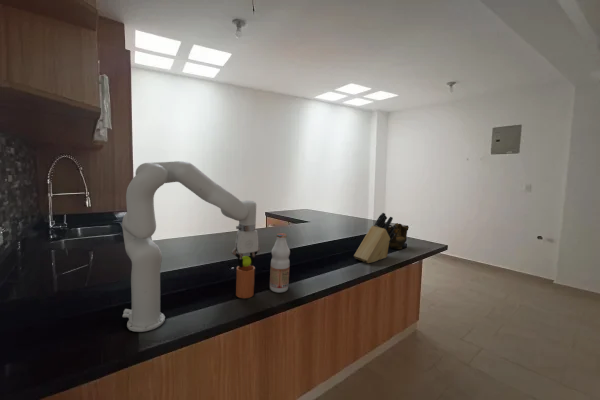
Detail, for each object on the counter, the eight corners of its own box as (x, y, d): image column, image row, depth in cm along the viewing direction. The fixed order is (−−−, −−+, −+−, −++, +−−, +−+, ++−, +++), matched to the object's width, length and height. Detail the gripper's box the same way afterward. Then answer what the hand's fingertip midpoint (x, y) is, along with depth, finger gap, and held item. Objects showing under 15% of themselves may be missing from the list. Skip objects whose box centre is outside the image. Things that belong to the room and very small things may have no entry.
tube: (233, 297, 134) (234, 270, 132) (238, 289, 142) (239, 264, 141) (251, 299, 134) (252, 271, 132) (255, 291, 142) (256, 265, 140)
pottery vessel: (393, 251, 221) (396, 226, 218) (380, 248, 228) (383, 223, 226) (409, 246, 237) (412, 223, 235) (397, 243, 245) (399, 220, 243)
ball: (238, 267, 134) (239, 257, 133) (241, 264, 139) (242, 253, 138) (249, 268, 133) (250, 258, 133) (252, 265, 138) (252, 254, 138)
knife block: (394, 255, 212) (399, 213, 208) (367, 265, 188) (371, 218, 184) (380, 251, 220) (384, 211, 216) (352, 260, 196) (356, 215, 192)
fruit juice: (268, 292, 141) (271, 236, 138) (270, 284, 151) (273, 231, 147) (287, 293, 141) (290, 237, 138) (288, 285, 151) (291, 232, 147)
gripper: (233, 231, 126) (231, 271, 128) (267, 227, 136) (265, 265, 138) (226, 227, 132) (225, 266, 134) (259, 224, 142) (258, 260, 144)
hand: (245, 265), depth 136 cm, fingers closed on ball, 4 cm apart
